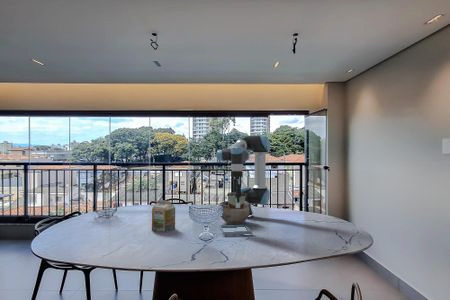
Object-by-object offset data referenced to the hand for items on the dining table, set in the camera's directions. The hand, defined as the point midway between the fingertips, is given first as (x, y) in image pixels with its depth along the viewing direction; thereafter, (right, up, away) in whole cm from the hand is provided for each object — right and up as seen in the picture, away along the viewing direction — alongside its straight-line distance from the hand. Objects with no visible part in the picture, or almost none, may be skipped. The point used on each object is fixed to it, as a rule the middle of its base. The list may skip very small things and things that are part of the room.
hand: (236, 206), depth 186 cm
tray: (-1, -16, 0) cm, 16 cm away
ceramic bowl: (-1, -17, +24) cm, 29 cm away
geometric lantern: (-101, -16, +44) cm, 112 cm away
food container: (0, -1, 0) cm, 1 cm away
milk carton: (-47, -16, +4) cm, 50 cm away
